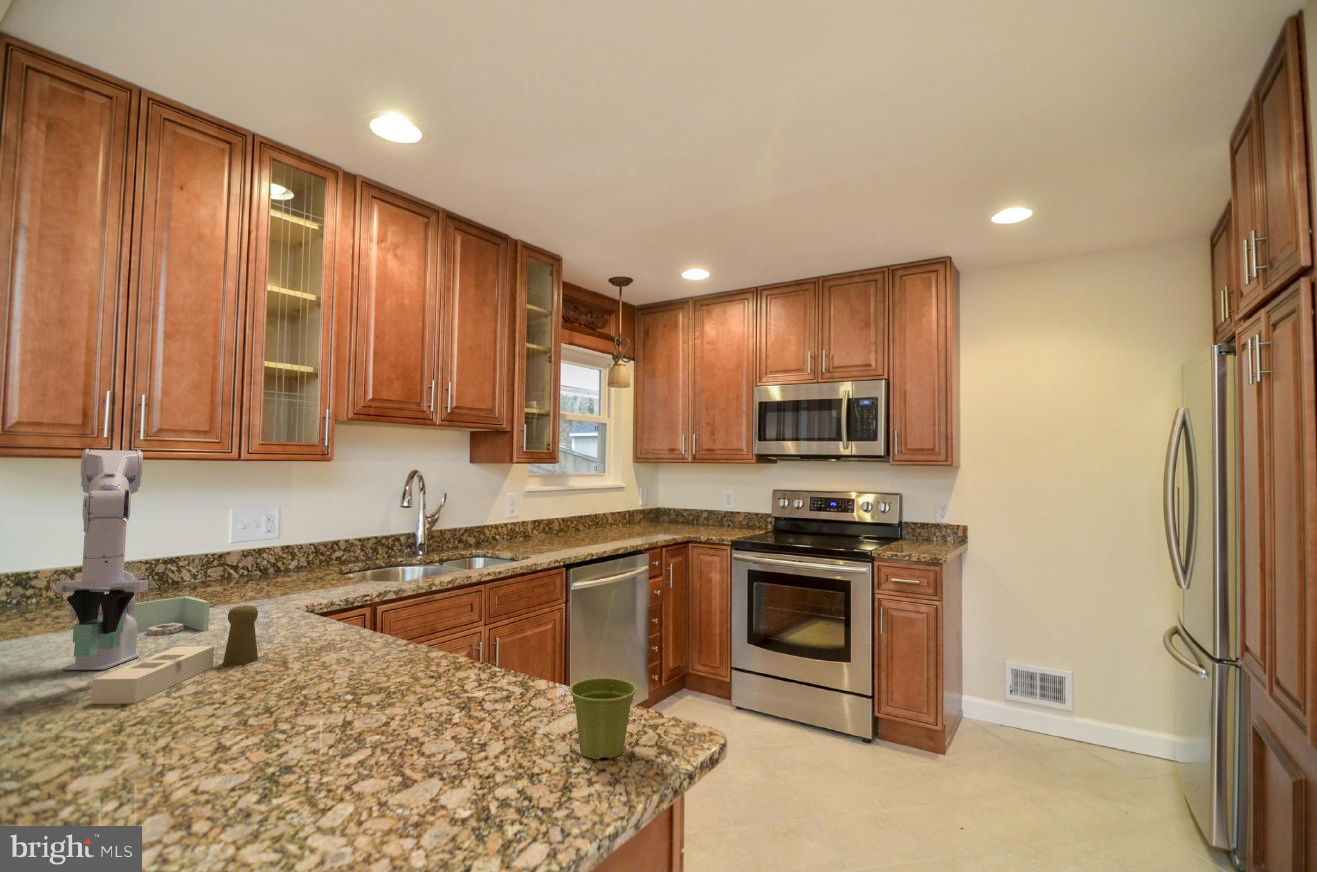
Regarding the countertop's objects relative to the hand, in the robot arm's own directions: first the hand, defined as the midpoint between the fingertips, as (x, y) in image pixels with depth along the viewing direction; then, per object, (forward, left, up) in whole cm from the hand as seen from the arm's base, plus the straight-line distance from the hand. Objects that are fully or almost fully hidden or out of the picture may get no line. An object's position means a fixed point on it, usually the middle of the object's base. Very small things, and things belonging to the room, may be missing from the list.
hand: (99, 632), depth 114 cm
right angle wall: (-40, -15, -10) cm, 43 cm away
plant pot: (+30, +91, -10) cm, 97 cm away
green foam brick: (0, 0, -3) cm, 3 cm away
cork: (-15, +16, -10) cm, 24 cm away
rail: (-1, +10, -9) cm, 14 cm away
